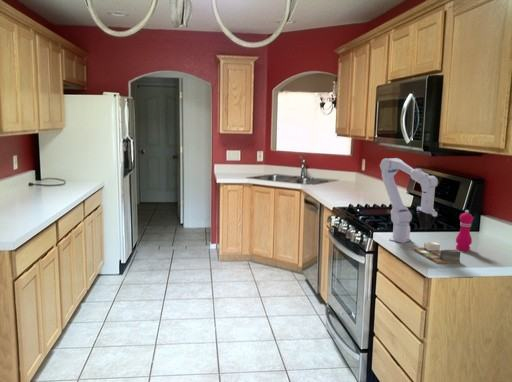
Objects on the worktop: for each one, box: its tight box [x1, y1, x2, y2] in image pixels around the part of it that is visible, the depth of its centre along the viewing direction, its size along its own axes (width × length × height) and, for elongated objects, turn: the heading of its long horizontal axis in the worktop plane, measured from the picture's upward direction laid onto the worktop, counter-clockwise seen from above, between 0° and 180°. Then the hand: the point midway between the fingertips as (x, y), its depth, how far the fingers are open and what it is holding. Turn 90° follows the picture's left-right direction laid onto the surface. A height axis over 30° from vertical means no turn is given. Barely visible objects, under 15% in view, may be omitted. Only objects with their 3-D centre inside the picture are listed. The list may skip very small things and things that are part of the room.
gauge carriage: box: [419, 241, 441, 251], centre depth 215 cm, size 4×10×3 cm, turn 102°
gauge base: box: [411, 246, 461, 264], centre depth 209 cm, size 21×12×5 cm, turn 12°
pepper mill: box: [455, 209, 474, 252], centre depth 220 cm, size 7×7×20 cm
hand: (425, 227), depth 220 cm, fingers open, 5 cm apart
